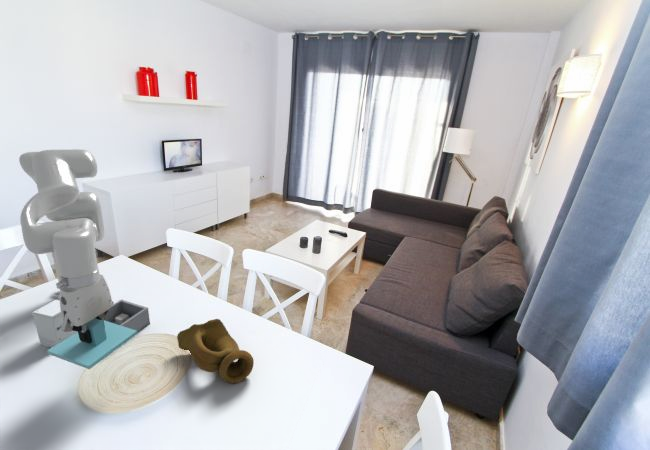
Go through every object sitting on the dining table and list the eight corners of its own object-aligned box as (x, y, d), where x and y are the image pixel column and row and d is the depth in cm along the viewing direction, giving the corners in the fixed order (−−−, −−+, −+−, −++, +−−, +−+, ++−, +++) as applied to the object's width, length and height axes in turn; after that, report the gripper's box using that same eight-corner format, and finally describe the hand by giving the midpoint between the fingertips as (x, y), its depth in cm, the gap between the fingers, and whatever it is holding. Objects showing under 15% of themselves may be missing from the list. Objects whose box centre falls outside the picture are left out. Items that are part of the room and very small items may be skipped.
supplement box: (59, 350, 97) (50, 317, 93) (39, 345, 99) (30, 312, 94) (81, 334, 104) (74, 303, 100) (62, 330, 105) (54, 298, 101)
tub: (92, 335, 104) (88, 318, 102) (123, 315, 115) (121, 299, 113) (120, 345, 101) (117, 328, 99) (150, 323, 112) (148, 307, 110)
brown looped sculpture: (237, 313, 111) (261, 343, 93) (228, 347, 112) (250, 383, 94) (183, 311, 100) (198, 345, 82) (173, 349, 101) (186, 391, 83)
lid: (49, 358, 80) (41, 331, 77) (100, 325, 92) (95, 301, 89) (90, 374, 76) (83, 346, 73) (138, 337, 89) (134, 313, 86)
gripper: (56, 298, 68) (72, 362, 75) (122, 266, 83) (130, 322, 90) (32, 290, 70) (49, 354, 77) (100, 260, 85) (110, 316, 91)
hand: (93, 336), depth 83 cm, fingers closed on lid, 3 cm apart
